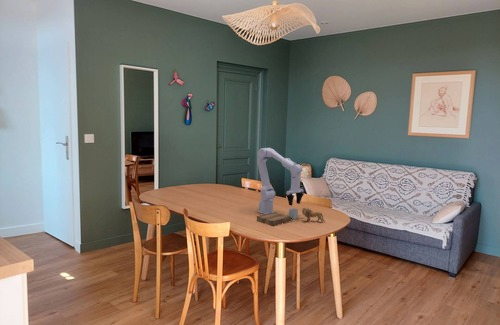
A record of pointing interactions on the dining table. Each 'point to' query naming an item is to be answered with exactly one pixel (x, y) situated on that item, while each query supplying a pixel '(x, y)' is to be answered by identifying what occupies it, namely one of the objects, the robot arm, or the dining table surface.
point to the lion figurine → (312, 214)
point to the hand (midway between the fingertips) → (294, 204)
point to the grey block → (293, 213)
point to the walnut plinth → (273, 218)
